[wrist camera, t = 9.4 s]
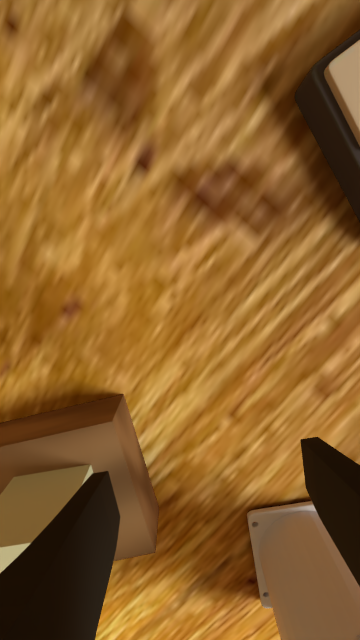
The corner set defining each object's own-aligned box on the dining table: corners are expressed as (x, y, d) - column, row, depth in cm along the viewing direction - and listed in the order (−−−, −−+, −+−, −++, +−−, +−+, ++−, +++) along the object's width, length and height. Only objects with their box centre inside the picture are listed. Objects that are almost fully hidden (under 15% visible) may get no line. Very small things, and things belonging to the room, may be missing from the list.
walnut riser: (159, 504, 24) (155, 552, 20) (41, 529, 24) (14, 581, 20) (124, 391, 22) (112, 421, 18) (-4, 421, 22) (-42, 456, 18)
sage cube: (109, 529, 20) (85, 620, 15) (36, 541, 20) (-12, 634, 15) (90, 464, 19) (58, 538, 14) (13, 476, 19) (-46, 554, 14)
